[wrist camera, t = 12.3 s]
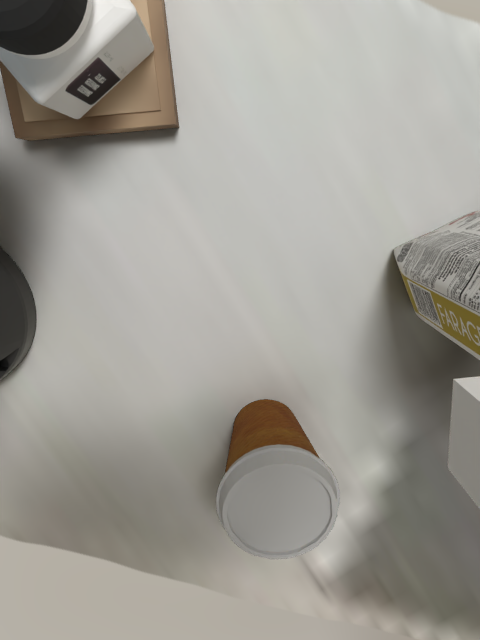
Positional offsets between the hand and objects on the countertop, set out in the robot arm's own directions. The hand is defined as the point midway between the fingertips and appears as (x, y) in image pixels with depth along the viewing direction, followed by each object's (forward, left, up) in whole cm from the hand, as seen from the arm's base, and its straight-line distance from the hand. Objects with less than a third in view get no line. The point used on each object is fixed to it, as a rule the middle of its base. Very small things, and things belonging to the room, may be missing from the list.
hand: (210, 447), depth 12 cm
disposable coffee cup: (+3, -17, -29) cm, 34 cm away
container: (-8, +17, -26) cm, 32 cm away
